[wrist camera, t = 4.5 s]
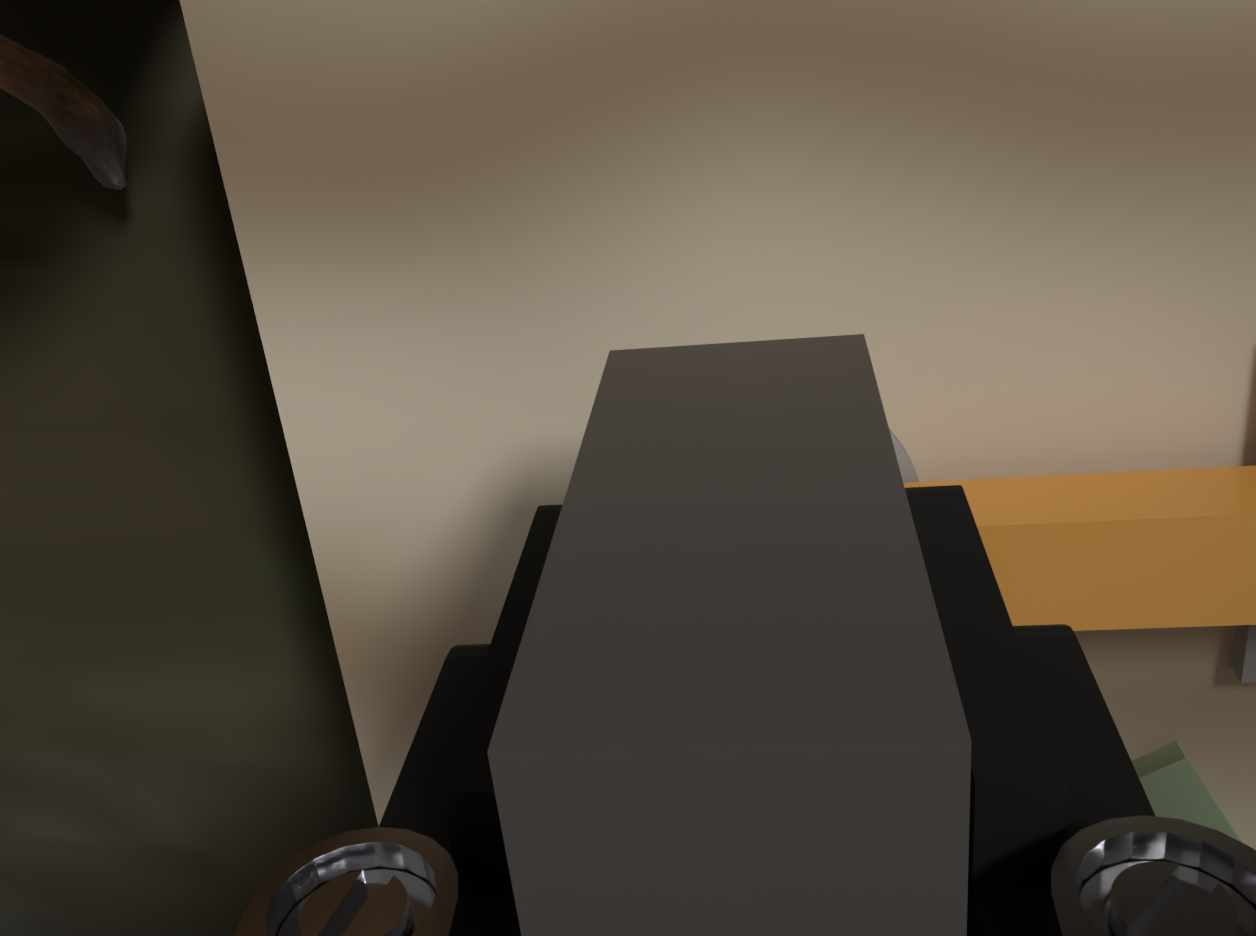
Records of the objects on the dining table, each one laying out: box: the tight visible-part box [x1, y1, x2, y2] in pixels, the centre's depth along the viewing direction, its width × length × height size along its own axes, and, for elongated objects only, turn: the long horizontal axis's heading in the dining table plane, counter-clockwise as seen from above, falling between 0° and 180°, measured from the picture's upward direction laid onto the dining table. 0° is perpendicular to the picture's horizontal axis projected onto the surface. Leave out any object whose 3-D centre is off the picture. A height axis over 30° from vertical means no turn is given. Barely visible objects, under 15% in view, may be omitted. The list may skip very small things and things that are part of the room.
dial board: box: [180, 0, 1256, 850], centre depth 14 cm, size 15×13×3 cm
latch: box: [487, 334, 1256, 936], centre depth 9 cm, size 8×6×7 cm
